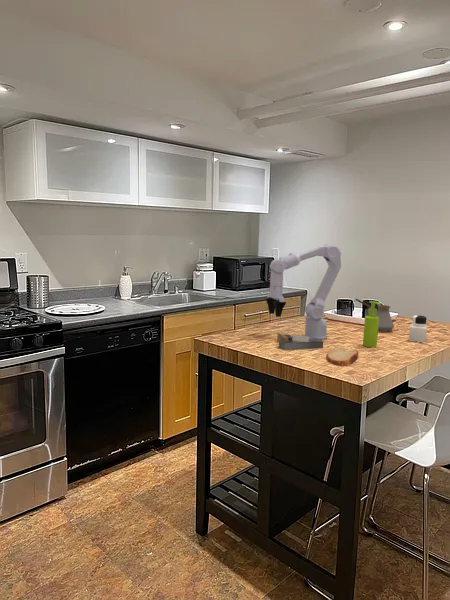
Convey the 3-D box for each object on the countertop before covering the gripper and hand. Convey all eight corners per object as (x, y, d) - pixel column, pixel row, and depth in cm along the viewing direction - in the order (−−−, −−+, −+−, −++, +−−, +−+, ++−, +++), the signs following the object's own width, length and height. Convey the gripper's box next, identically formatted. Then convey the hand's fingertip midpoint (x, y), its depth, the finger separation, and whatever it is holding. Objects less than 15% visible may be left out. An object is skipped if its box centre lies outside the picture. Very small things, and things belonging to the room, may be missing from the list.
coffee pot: (396, 330, 243) (399, 302, 241) (389, 334, 234) (391, 304, 231) (356, 324, 255) (358, 297, 253) (348, 327, 246) (350, 299, 244)
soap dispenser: (371, 348, 203) (375, 303, 200) (359, 345, 209) (363, 300, 206) (381, 347, 206) (385, 302, 203) (369, 343, 212) (373, 300, 209)
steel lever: (308, 341, 199) (309, 336, 199) (308, 342, 197) (308, 337, 196) (288, 339, 201) (288, 334, 201) (287, 340, 199) (288, 335, 199)
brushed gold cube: (285, 341, 213) (285, 332, 212) (289, 343, 208) (289, 334, 208) (276, 341, 211) (277, 332, 211) (281, 343, 207) (281, 334, 207)
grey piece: (316, 344, 207) (317, 333, 206) (323, 348, 202) (323, 336, 201) (278, 346, 202) (279, 335, 201) (284, 349, 196) (285, 338, 195)
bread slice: (339, 368, 174) (339, 358, 173) (312, 355, 190) (312, 346, 190) (377, 364, 181) (378, 354, 180) (348, 352, 197) (349, 343, 197)
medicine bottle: (425, 340, 223) (428, 315, 221) (425, 343, 216) (427, 317, 214) (409, 338, 226) (412, 313, 224) (408, 341, 219) (411, 316, 217)
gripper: (262, 284, 221) (261, 312, 223) (274, 288, 208) (273, 318, 210) (276, 283, 223) (274, 312, 225) (289, 287, 210) (287, 317, 212)
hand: (274, 315), depth 218 cm, fingers open, 7 cm apart
